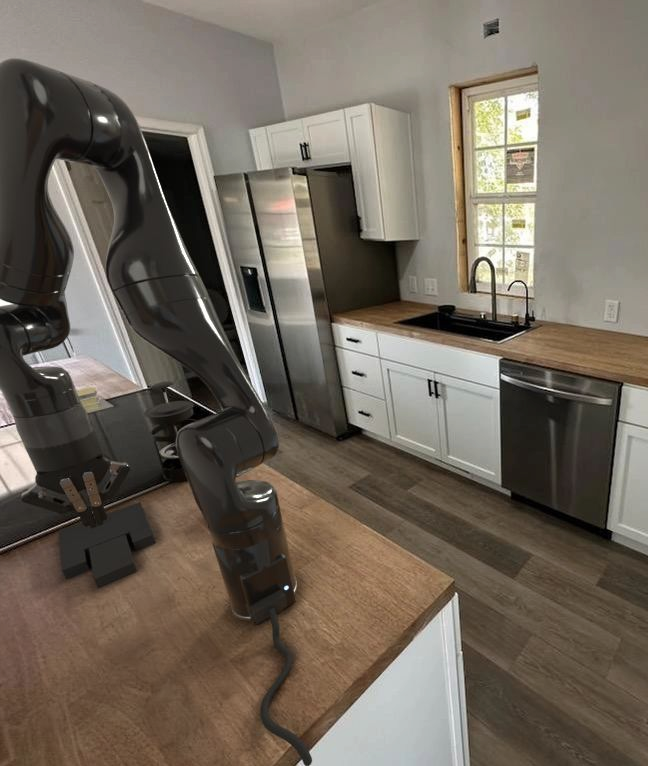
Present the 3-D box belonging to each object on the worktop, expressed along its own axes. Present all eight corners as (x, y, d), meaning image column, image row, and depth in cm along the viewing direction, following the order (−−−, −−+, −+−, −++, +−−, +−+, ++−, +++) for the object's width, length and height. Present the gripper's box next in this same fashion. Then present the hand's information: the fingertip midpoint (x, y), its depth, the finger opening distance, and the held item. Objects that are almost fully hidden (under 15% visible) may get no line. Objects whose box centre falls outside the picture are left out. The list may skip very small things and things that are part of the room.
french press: (157, 471, 100) (128, 383, 91) (202, 455, 107) (179, 372, 98) (173, 490, 93) (143, 397, 85) (220, 472, 100) (196, 384, 92)
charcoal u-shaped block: (156, 542, 78) (152, 534, 77) (66, 579, 70) (61, 570, 69) (143, 509, 87) (140, 501, 86) (62, 538, 79) (58, 530, 78)
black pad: (92, 556, 75) (88, 548, 74) (128, 542, 78) (125, 534, 77) (98, 588, 68) (94, 579, 68) (137, 571, 72) (133, 562, 71)
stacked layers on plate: (114, 406, 133) (108, 390, 131) (76, 416, 126) (69, 399, 124) (103, 399, 138) (97, 384, 136) (66, 408, 131) (59, 392, 129)
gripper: (-9, 459, 57) (40, 556, 63) (119, 428, 66) (151, 515, 72) (-6, 440, 61) (39, 532, 68) (113, 413, 71) (143, 497, 77)
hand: (97, 523), depth 70 cm, fingers closed
